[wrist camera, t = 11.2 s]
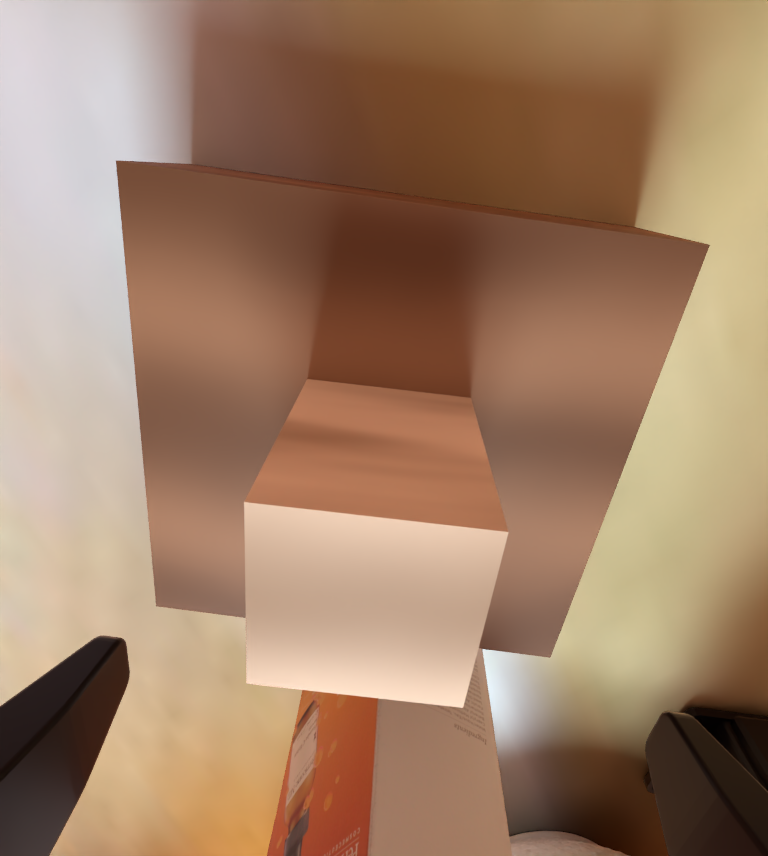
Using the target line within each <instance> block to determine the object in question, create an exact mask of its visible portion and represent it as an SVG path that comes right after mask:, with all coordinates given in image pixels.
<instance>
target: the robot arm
mask: <svg viewBox="0 0 768 856" xmlns="http://www.w3.org/2000/svg"><path fill="white" fill-rule="evenodd" d="M129 674H130V670H129V662H128V654H127V646H126V642H125V641H124V639H122V638H118V637H110V636H98V637H96V638H94V639H93V640H91V641H90V642H88V643H87V644H86V645H84V646H83V647H82V648H80V649H79V650H77V651H76V652H75V653H73V654H72V655H71V656H69V657H68V658H66V659H65V660H64V661H62V662H61V663H59V664H58V665H57V666H55V667H54V668H53V669H51V670H50V671H48V672H47V673H46V674H44V675H43V676H41V677H40V678H39V679H37V680H36V681H35V682H33V683H32V684H30V685H29V686H28V687H26V688H25V689H24V690H22V691H21V692H19V693H18V694H17V695H15V696H14V697H12V698H11V699H10V700H8V701H7V702H6V703H4V704H3V705H1V706H0V856H49V855H50V853H51V851H52V849H53V847H54V846H55V844H56V842H57V840H58V838H59V836H60V834H61V832H62V830H63V828H64V827H65V825H66V823H67V821H68V819H69V817H70V815H71V813H72V811H73V809H74V808H75V806H76V804H77V802H78V800H79V798H80V796H81V794H82V792H83V790H84V788H85V786H86V783H87V781H88V779H89V776H90V774H91V772H92V770H93V767H94V765H95V762H96V760H97V758H98V755H99V753H100V750H101V748H102V745H103V743H104V741H105V738H106V736H107V733H108V731H109V728H110V726H111V724H112V721H113V719H114V716H115V714H116V711H117V709H118V707H119V704H120V702H121V699H122V697H123V695H124V692H125V690H126V687H127V684H128V681H129ZM645 751H646V758H647V763H648V767H649V772H648V774H647V775H646V777H645V779H644V783H645V785H646V788H647V790H648V791H649V792H650V793H654V794H655V798H656V803H657V807H658V811H659V816H660V820H661V825H662V829H663V834H664V838H665V842H666V847H667V850H668V854H669V856H768V717H764V716H756V715H749V714H741V713H734V712H726V711H719V710H711V709H704V708H690V709H688V710H686V711H685V712H684V713H679V712H671V711H666V712H663V713H662V714H661V715H660V717H659V719H658V721H657V722H656V724H655V726H654V728H653V730H652V731H651V733H650V735H649V737H648V739H647V741H646V748H645Z"/></svg>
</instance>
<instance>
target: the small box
mask: <svg viewBox="0 0 768 856" xmlns="http://www.w3.org/2000/svg"><path fill="white" fill-rule="evenodd" d="M267 856H512V851H511V845H510V838H509V831H508V824H507V817H506V811H505V804H504V796H503V789H502V782H501V775H500V768H499V762H498V755H497V748H496V741H495V734H494V727H493V720H492V713H491V707H490V700H489V693H488V686H487V679H486V672H485V665H484V658H483V652H482V649H481V648H478V652H477V656H476V660H475V664H474V668H473V672H472V675H471V679H470V683H469V687H468V691H467V695H466V699H465V702H464V706H463V708H460V707H451V706H442V705H433V704H424V703H415V702H406V701H397V700H388V699H380V698H371V697H362V696H353V695H344V694H335V693H326V692H317V691H308V690H302V695H301V700H300V705H299V710H298V715H297V720H296V725H295V729H294V734H293V738H292V742H291V747H290V751H289V756H288V761H287V765H286V770H285V775H284V780H283V785H282V789H281V794H280V799H279V804H278V809H277V814H276V818H275V822H274V826H273V831H272V836H271V840H270V844H269V849H268V854H267Z"/></svg>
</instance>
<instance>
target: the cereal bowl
mask: <svg viewBox="0 0 768 856" xmlns="http://www.w3.org/2000/svg"><path fill="white" fill-rule="evenodd" d="M509 838H510V845H511V851H512V856H629V855H626V854H624V853H622V852H620V851H614V850H612V849H610V848H605V847H602V846H599V845H597V844H596V843H594V842H592V841H591V840H589V839H586V838H584V837H581V836H578V835H576V834H571V833H566V832H560V831H534V832H526V833H521V834H517V835H513V836H510V837H509Z"/></svg>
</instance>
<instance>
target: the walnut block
mask: <svg viewBox="0 0 768 856" xmlns="http://www.w3.org/2000/svg"><path fill="white" fill-rule="evenodd" d="M116 165H117V176H118V187H119V198H120V209H121V220H122V231H123V242H124V253H125V264H126V275H127V286H128V298H129V309H130V320H131V331H132V342H133V353H134V364H135V375H136V386H137V397H138V408H139V419H140V430H141V441H142V453H143V464H144V475H145V486H146V497H147V508H148V519H149V530H150V541H151V552H152V563H153V574H154V585H155V596H156V606H159V607H167V608H175V609H182V610H190V611H198V612H205V613H213V614H221V615H228V616H236V617H244V618H246V600H245V529H244V501H245V499H246V497H247V495H248V493H249V492H250V490H251V488H252V486H253V484H254V482H255V480H256V478H257V476H258V474H259V472H260V470H261V468H262V466H263V464H264V462H265V460H266V458H267V456H268V455H269V453H270V451H271V449H272V447H273V445H274V443H275V441H276V439H277V437H278V435H279V433H280V431H281V429H282V427H283V425H284V423H285V421H286V419H287V417H288V416H289V414H290V412H291V410H292V408H293V406H294V404H295V402H296V400H297V398H298V396H299V394H300V392H301V390H302V388H303V386H304V384H305V382H306V380H307V379H312V380H321V381H329V382H338V383H347V384H355V385H364V386H373V387H381V388H390V389H399V390H407V391H416V392H425V393H433V394H442V395H451V396H459V397H468V398H471V400H472V404H473V407H474V411H475V414H476V418H477V421H478V425H479V429H480V432H481V436H482V439H483V443H484V446H485V450H486V453H487V457H488V461H489V464H490V468H491V471H492V475H493V478H494V482H495V485H496V489H497V493H498V496H499V500H500V503H501V507H502V510H503V514H504V517H505V521H506V525H507V528H508V532H509V533H508V537H507V540H506V544H505V548H504V552H503V556H502V560H501V564H500V567H499V571H498V575H497V579H496V583H495V587H494V591H493V594H492V598H491V602H490V606H489V610H488V614H487V618H486V621H485V625H484V629H483V633H482V637H481V641H480V645H479V648H481V649H489V650H496V651H504V652H512V653H519V654H527V655H535V656H542V657H551V654H552V652H553V649H554V646H555V644H556V641H557V639H558V636H559V633H560V631H561V628H562V626H563V623H564V620H565V618H566V615H567V613H568V610H569V608H570V605H571V602H572V600H573V597H574V595H575V592H576V589H577V587H578V584H579V582H580V579H581V577H582V574H583V571H584V569H585V566H586V564H587V561H588V558H589V556H590V553H591V551H592V548H593V546H594V543H595V540H596V538H597V535H598V533H599V530H600V527H601V525H602V522H603V520H604V517H605V514H606V512H607V509H608V507H609V504H610V502H611V499H612V496H613V494H614V491H615V489H616V486H617V483H618V481H619V478H620V476H621V473H622V471H623V468H624V465H625V463H626V460H627V458H628V455H629V452H630V450H631V447H632V445H633V442H634V439H635V437H636V434H637V432H638V429H639V427H640V424H641V421H642V419H643V416H644V414H645V411H646V408H647V406H648V403H649V401H650V398H651V396H652V393H653V390H654V388H655V385H656V383H657V380H658V377H659V375H660V372H661V370H662V367H663V364H664V362H665V359H666V357H667V354H668V352H669V349H670V346H671V344H672V341H673V339H674V336H675V333H676V331H677V328H678V326H679V323H680V321H681V318H682V315H683V313H684V310H685V308H686V305H687V302H688V300H689V297H690V295H691V292H692V290H693V287H694V284H695V282H696V279H697V277H698V274H699V271H700V269H701V266H702V264H703V261H704V258H705V256H706V253H707V251H708V248H709V246H710V245H708V244H704V243H699V242H695V241H691V240H687V239H682V238H678V237H674V236H670V235H665V234H661V233H657V232H653V231H648V230H644V229H640V228H636V227H629V226H622V225H615V224H608V223H601V222H594V221H587V220H580V219H573V218H566V217H559V216H552V215H545V214H538V213H531V212H524V211H517V210H510V209H503V208H496V207H489V206H482V205H475V204H467V203H460V202H453V201H446V200H439V199H432V198H425V197H418V196H411V195H404V194H397V193H390V192H383V191H376V190H369V189H362V188H355V187H348V186H341V185H334V184H327V183H320V182H313V181H306V180H299V179H292V178H285V177H278V176H271V175H264V174H257V173H250V172H243V171H236V170H229V169H222V168H215V167H207V166H200V165H193V164H176V163H156V162H135V161H116Z"/></svg>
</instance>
